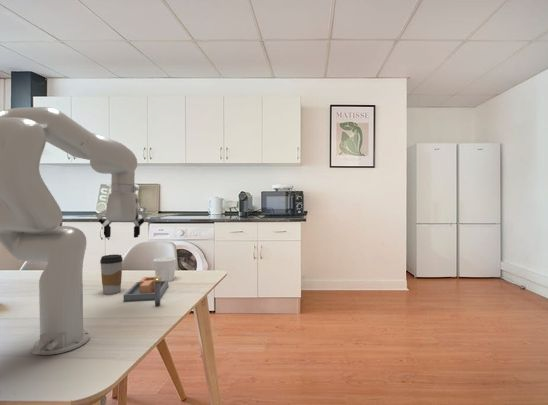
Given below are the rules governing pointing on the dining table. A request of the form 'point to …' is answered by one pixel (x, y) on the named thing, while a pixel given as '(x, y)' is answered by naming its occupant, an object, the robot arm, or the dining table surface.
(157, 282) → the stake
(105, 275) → the coffee cup
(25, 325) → the dining table surface
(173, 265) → the cup
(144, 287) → the orange flat handled frame
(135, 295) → the tray
